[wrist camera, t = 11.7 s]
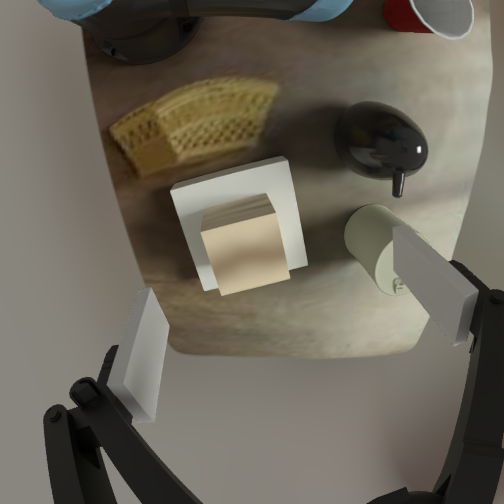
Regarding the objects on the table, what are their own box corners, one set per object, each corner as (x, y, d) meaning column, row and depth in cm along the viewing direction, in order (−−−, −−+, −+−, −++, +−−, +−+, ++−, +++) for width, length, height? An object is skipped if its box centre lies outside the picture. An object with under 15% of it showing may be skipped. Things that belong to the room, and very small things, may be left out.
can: (339, 258, 50) (368, 300, 39) (348, 202, 46) (384, 232, 35) (389, 258, 51) (425, 296, 40) (400, 205, 47) (443, 234, 36)
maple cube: (204, 208, 40) (200, 232, 33) (266, 192, 40) (276, 212, 33) (221, 263, 44) (221, 295, 37) (279, 249, 44) (290, 278, 36)
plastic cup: (373, 46, 36) (417, 32, 25) (360, -18, 31) (398, -46, 21) (432, 52, 36) (482, 46, 25) (420, -8, 32) (466, -26, 21)
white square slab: (174, 183, 43) (170, 190, 39) (282, 155, 42) (287, 160, 39) (205, 277, 49) (204, 291, 45) (301, 253, 49) (308, 265, 45)
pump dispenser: (316, 161, 43) (360, 188, 29) (335, 91, 39) (388, 87, 25) (379, 179, 45) (436, 212, 31) (397, 115, 41) (462, 125, 27)
